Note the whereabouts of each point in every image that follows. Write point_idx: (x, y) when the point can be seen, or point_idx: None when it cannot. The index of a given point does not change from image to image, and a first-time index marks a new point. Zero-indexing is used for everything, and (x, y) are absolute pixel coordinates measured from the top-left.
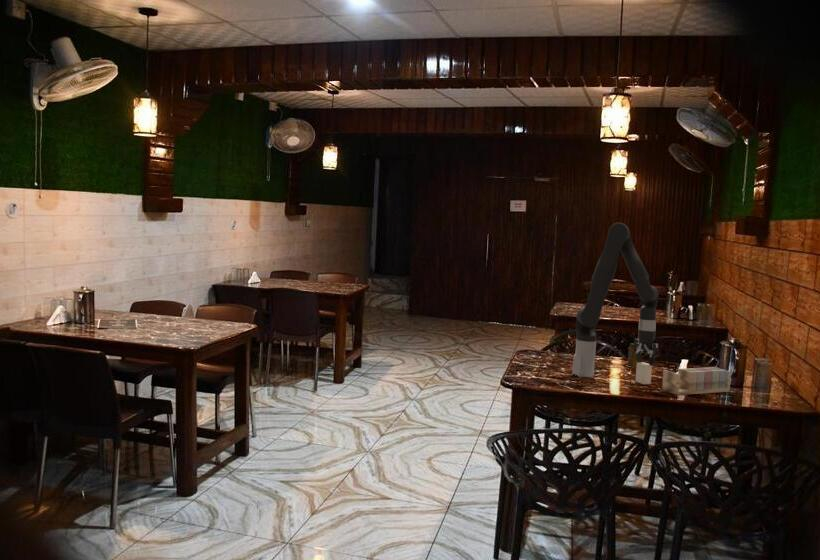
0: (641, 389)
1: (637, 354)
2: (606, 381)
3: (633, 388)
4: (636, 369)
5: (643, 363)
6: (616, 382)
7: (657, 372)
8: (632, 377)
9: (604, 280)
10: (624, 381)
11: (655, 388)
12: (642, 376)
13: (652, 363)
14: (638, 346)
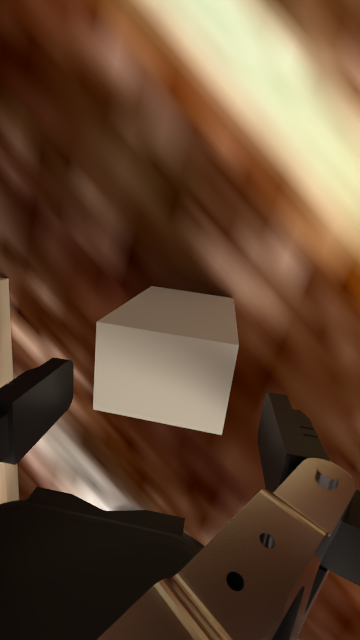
0: (39, 142)
1: (294, 448)
2: (330, 30)
3: (73, 99)
4: (233, 320)
5: (170, 377)
6: (264, 107)
7: (350, 613)
8: (329, 375)
9: None
10: (263, 210)
11: (44, 269)
12: (156, 298)
13: (25, 373)
14: (292, 593)
